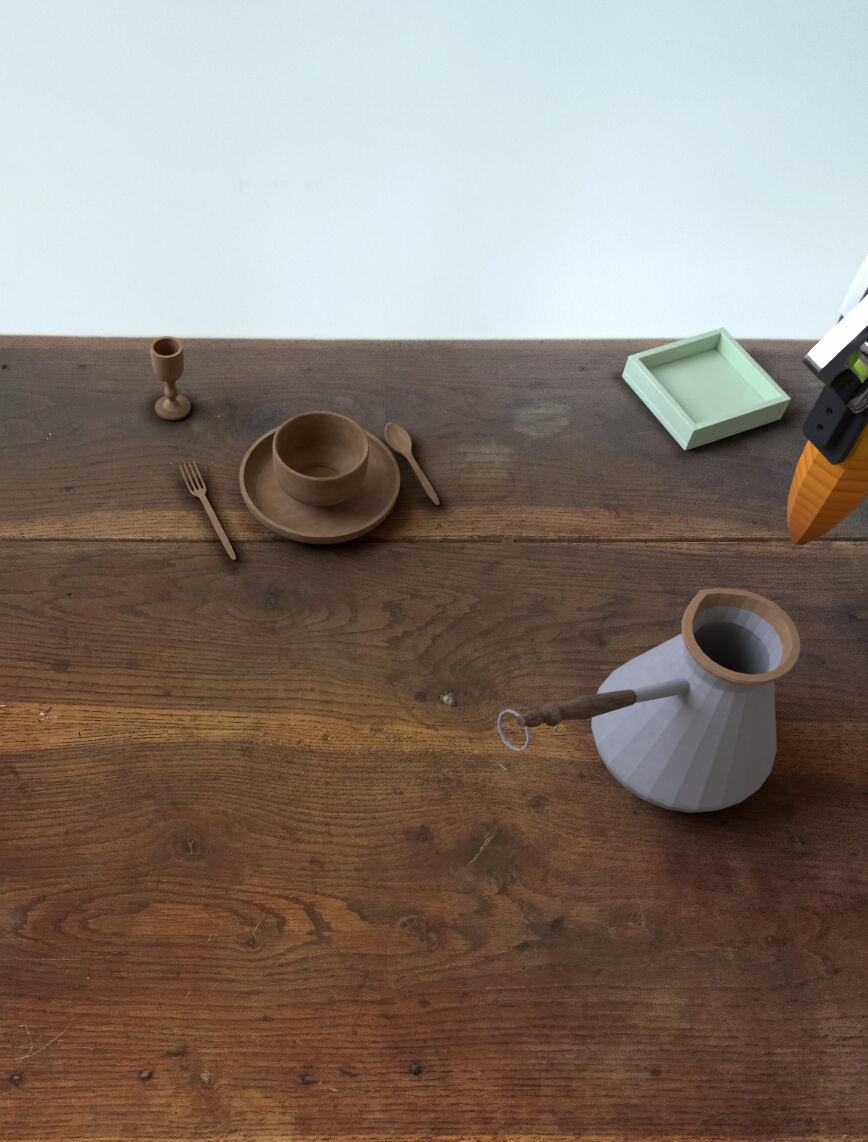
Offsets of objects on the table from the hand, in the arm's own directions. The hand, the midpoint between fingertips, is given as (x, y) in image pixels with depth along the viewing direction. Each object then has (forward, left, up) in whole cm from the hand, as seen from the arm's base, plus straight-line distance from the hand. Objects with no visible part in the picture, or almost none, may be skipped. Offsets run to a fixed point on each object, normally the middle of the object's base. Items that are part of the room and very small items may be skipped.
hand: (862, 430), depth 62 cm
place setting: (+25, -26, -16) cm, 39 cm away
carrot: (0, 0, -10) cm, 10 cm away
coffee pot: (+18, +8, -16) cm, 25 cm away
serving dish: (-8, -19, -16) cm, 27 cm away
